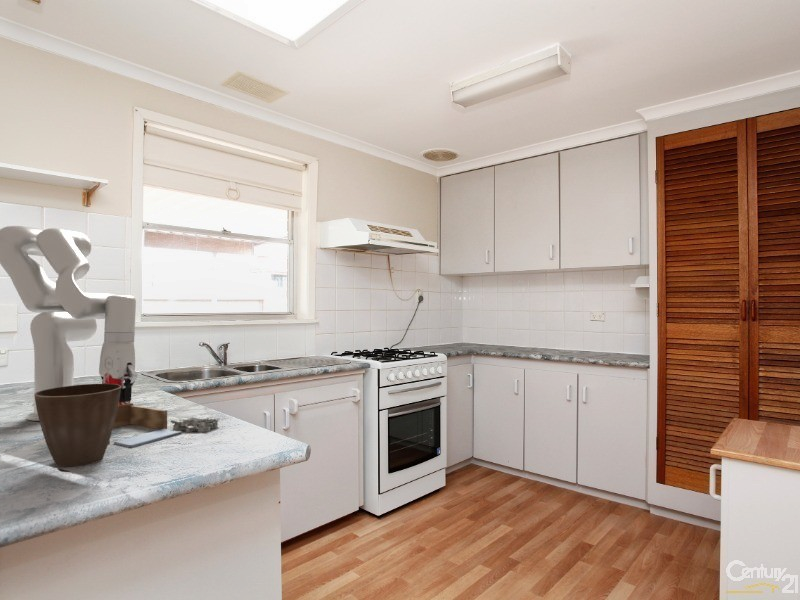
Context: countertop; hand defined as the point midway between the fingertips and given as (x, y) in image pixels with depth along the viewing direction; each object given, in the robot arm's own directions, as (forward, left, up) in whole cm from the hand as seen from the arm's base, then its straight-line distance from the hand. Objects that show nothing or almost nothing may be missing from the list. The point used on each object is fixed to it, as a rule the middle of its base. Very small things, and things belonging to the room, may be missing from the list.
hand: (116, 399), depth 136 cm
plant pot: (+30, -27, -7) cm, 41 cm away
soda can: (0, 0, -4) cm, 4 cm away
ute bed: (+17, -10, -6) cm, 20 cm away
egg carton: (+30, +2, -7) cm, 31 cm away
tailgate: (+25, -10, -5) cm, 27 cm away
